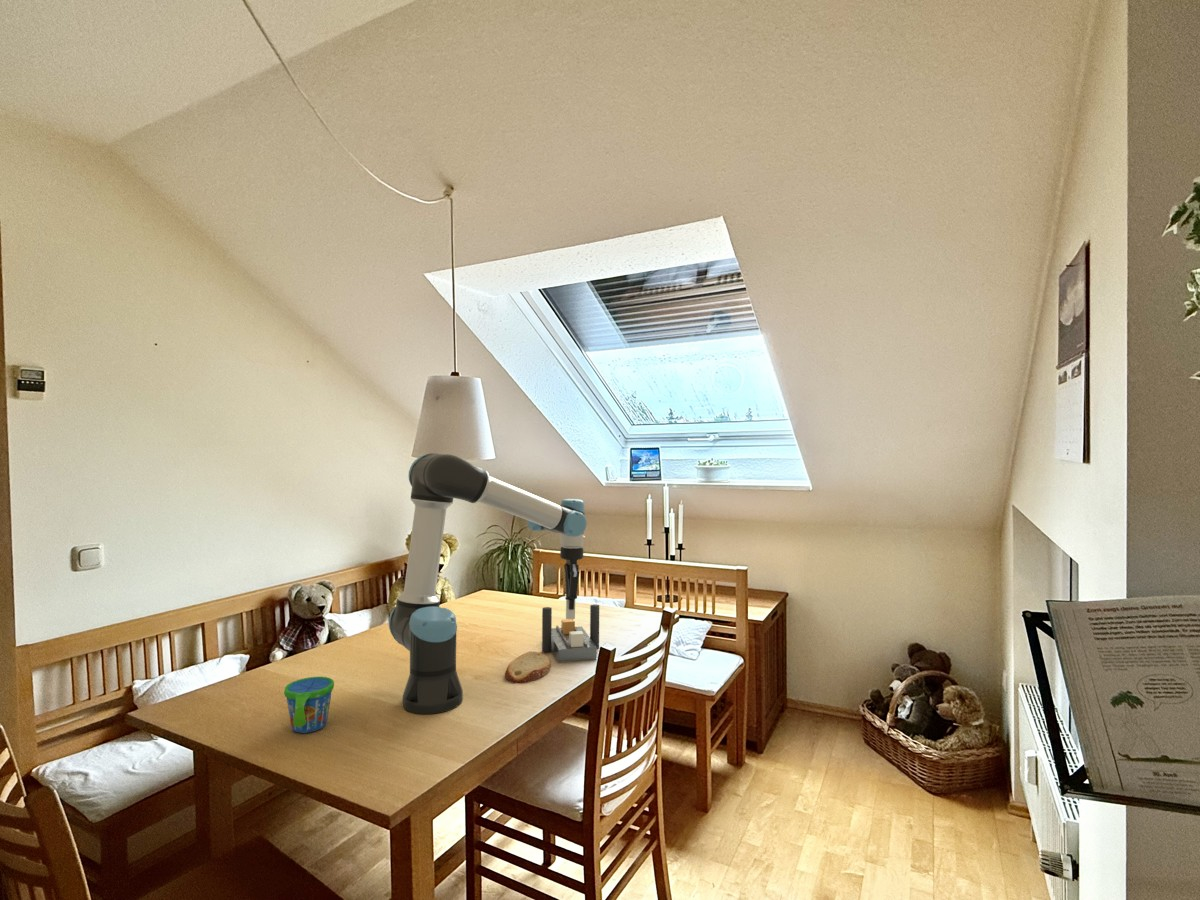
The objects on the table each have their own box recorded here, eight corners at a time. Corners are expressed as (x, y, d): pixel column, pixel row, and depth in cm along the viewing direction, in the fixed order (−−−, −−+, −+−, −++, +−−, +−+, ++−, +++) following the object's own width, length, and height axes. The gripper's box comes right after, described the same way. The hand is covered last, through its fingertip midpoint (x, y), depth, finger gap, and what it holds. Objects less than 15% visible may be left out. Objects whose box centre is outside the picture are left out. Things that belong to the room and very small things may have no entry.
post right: (600, 648, 201) (600, 606, 201) (591, 649, 201) (591, 607, 200) (597, 645, 204) (598, 604, 204) (589, 646, 203) (589, 604, 203)
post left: (552, 652, 197) (552, 609, 197) (542, 653, 197) (543, 609, 196) (550, 649, 200) (550, 606, 200) (541, 650, 200) (541, 607, 199)
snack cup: (300, 712, 152) (301, 672, 152) (344, 712, 152) (344, 671, 152) (270, 743, 136) (270, 698, 136) (318, 742, 137) (319, 697, 137)
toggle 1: (574, 633, 204) (574, 621, 204) (562, 634, 203) (563, 622, 203) (572, 630, 207) (573, 619, 207) (561, 631, 206) (561, 619, 206)
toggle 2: (583, 646, 191) (583, 633, 191) (570, 647, 190) (571, 634, 190) (581, 643, 194) (581, 630, 194) (569, 644, 193) (569, 631, 193)
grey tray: (596, 659, 191) (596, 643, 191) (558, 662, 188) (558, 646, 188) (581, 637, 213) (581, 623, 212) (547, 640, 210) (547, 625, 210)
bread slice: (539, 656, 195) (539, 644, 195) (568, 673, 180) (568, 661, 180) (487, 667, 185) (487, 655, 185) (514, 687, 170) (514, 673, 170)
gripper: (587, 549, 194) (585, 623, 194) (579, 543, 207) (577, 612, 207) (564, 549, 192) (562, 624, 192) (557, 543, 205) (555, 613, 205)
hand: (570, 618), depth 200 cm, fingers closed
